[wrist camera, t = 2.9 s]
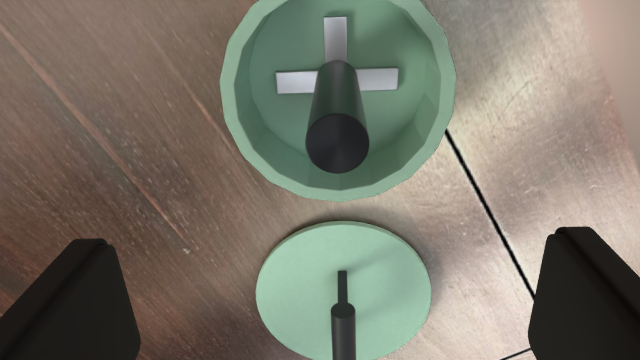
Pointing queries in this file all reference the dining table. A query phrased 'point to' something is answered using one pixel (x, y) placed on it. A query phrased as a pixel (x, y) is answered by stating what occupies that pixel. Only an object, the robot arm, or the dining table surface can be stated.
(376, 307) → the lid
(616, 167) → the dining table surface
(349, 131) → the black and grey rod
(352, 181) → the bowl
